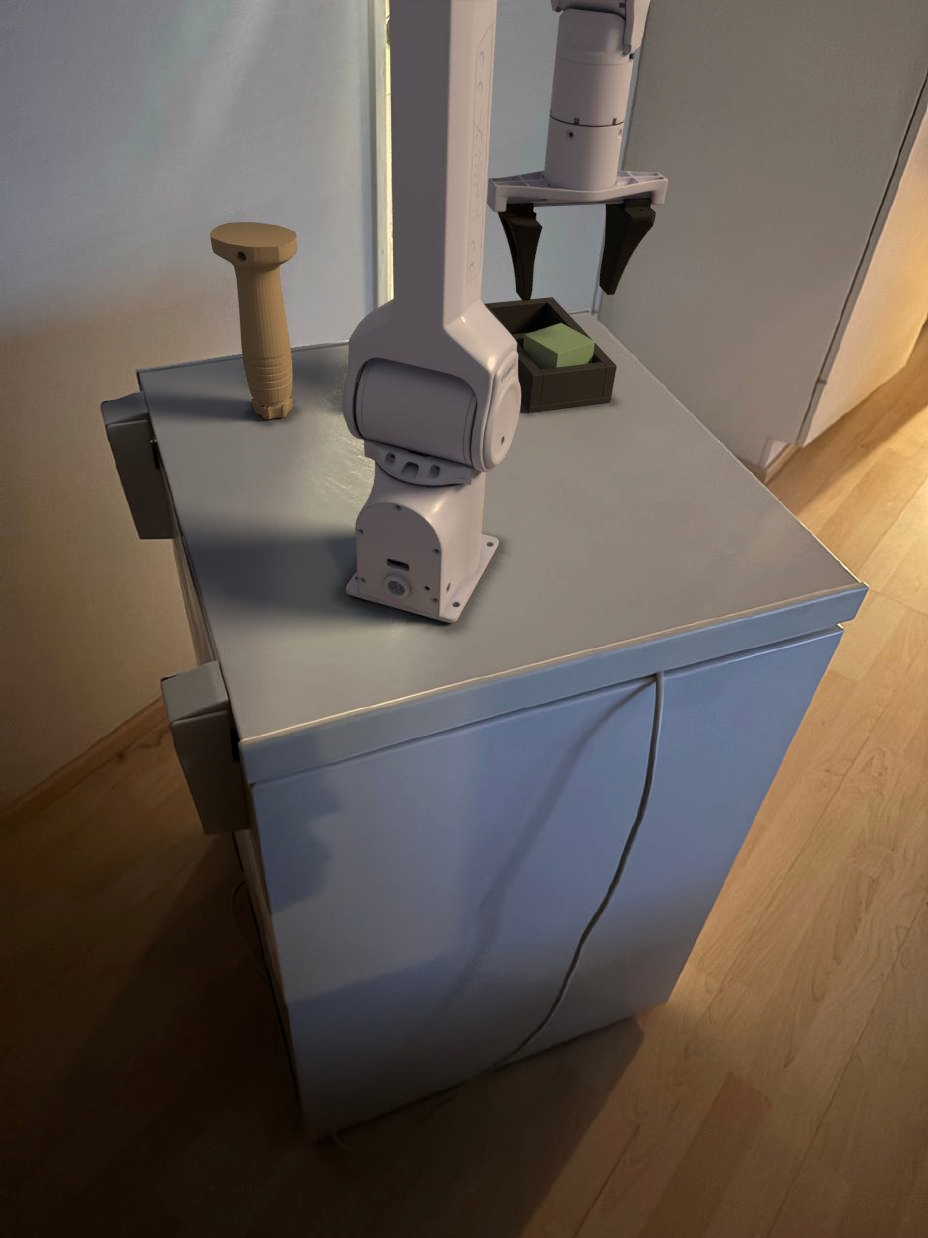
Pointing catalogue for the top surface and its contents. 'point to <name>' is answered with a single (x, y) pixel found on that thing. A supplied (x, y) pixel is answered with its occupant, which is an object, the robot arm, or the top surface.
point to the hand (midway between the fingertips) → (565, 292)
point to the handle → (261, 308)
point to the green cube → (558, 347)
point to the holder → (560, 382)
